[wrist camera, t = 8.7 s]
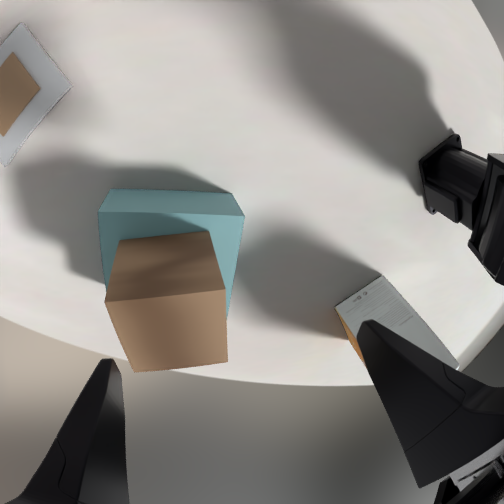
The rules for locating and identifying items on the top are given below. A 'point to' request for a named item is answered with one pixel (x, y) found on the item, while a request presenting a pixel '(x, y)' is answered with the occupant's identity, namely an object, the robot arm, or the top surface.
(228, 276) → the teal base block
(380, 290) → the small box
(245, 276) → the top surface
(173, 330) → the walnut cube
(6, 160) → the tile
